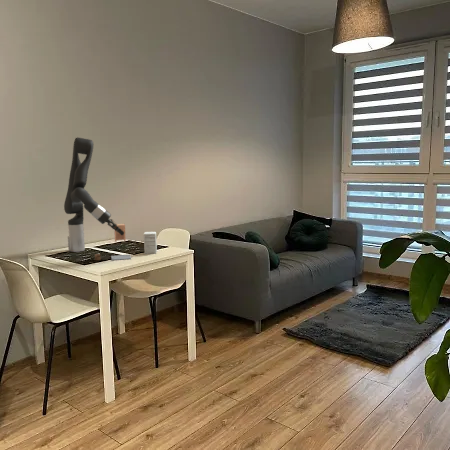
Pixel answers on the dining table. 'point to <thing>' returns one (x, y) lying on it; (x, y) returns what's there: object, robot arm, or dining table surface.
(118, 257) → the grey mat
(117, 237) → the terracotta cover
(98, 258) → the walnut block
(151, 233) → the supplement box
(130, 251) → the dining table surface
